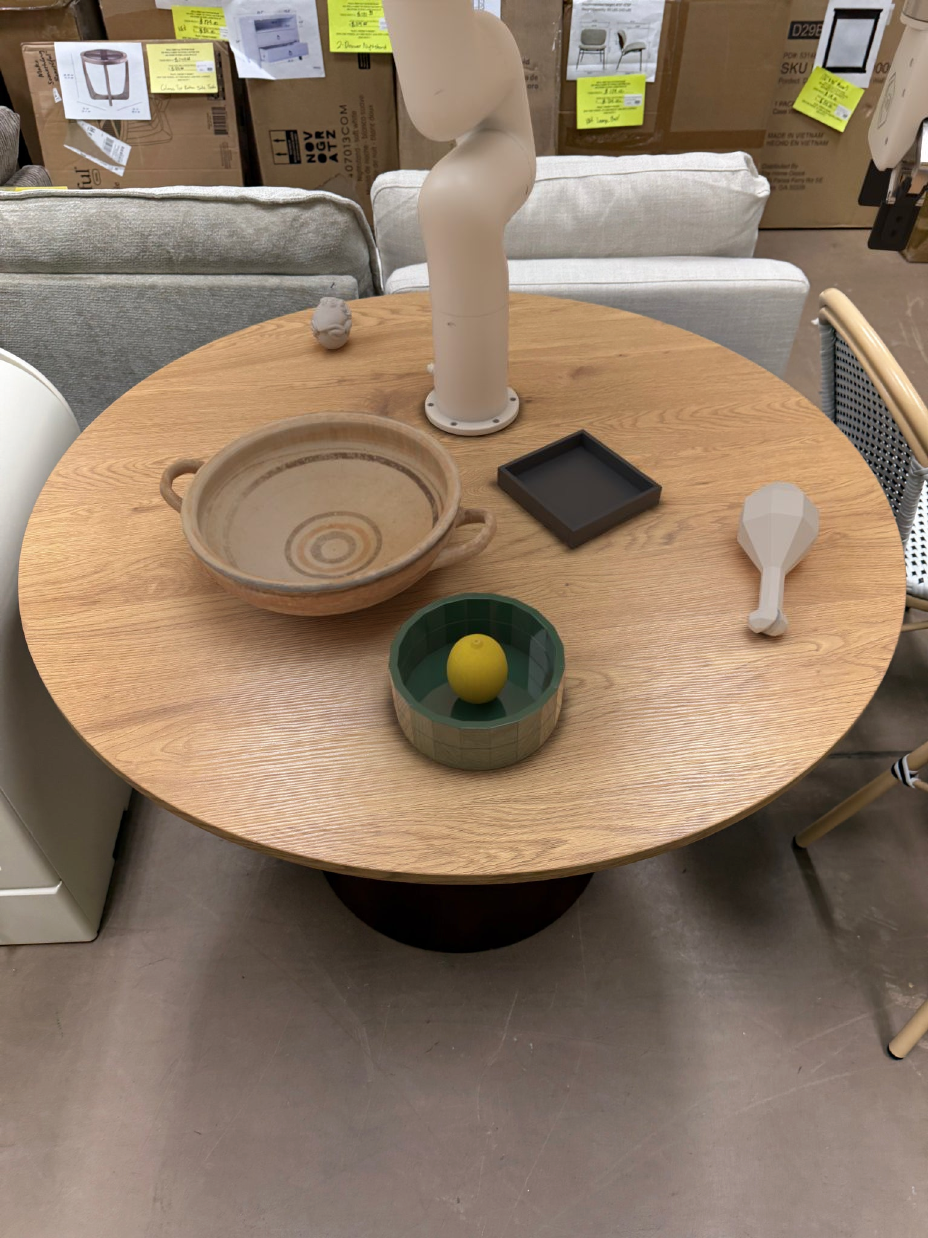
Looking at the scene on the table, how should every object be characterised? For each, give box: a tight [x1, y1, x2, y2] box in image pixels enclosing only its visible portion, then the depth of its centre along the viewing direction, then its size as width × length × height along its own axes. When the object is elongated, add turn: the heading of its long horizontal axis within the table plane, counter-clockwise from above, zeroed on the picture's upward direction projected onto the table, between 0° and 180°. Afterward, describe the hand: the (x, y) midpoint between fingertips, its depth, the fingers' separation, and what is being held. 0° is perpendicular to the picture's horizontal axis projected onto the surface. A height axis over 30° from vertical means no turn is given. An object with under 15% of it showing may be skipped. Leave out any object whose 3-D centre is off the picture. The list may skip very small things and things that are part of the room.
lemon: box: [447, 634, 508, 704], centre depth 74 cm, size 6×6×8 cm
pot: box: [388, 592, 566, 771], centre depth 75 cm, size 16×16×6 cm
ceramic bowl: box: [159, 410, 498, 617], centre depth 87 cm, size 37×29×10 cm
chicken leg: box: [736, 480, 820, 637], centre depth 84 cm, size 8×18×8 cm, turn 165°
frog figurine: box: [310, 296, 353, 350], centre depth 119 cm, size 6×7×7 cm
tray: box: [496, 428, 663, 550], centre depth 96 cm, size 14×13×3 cm
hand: (879, 226), depth 76 cm, fingers open, 9 cm apart
